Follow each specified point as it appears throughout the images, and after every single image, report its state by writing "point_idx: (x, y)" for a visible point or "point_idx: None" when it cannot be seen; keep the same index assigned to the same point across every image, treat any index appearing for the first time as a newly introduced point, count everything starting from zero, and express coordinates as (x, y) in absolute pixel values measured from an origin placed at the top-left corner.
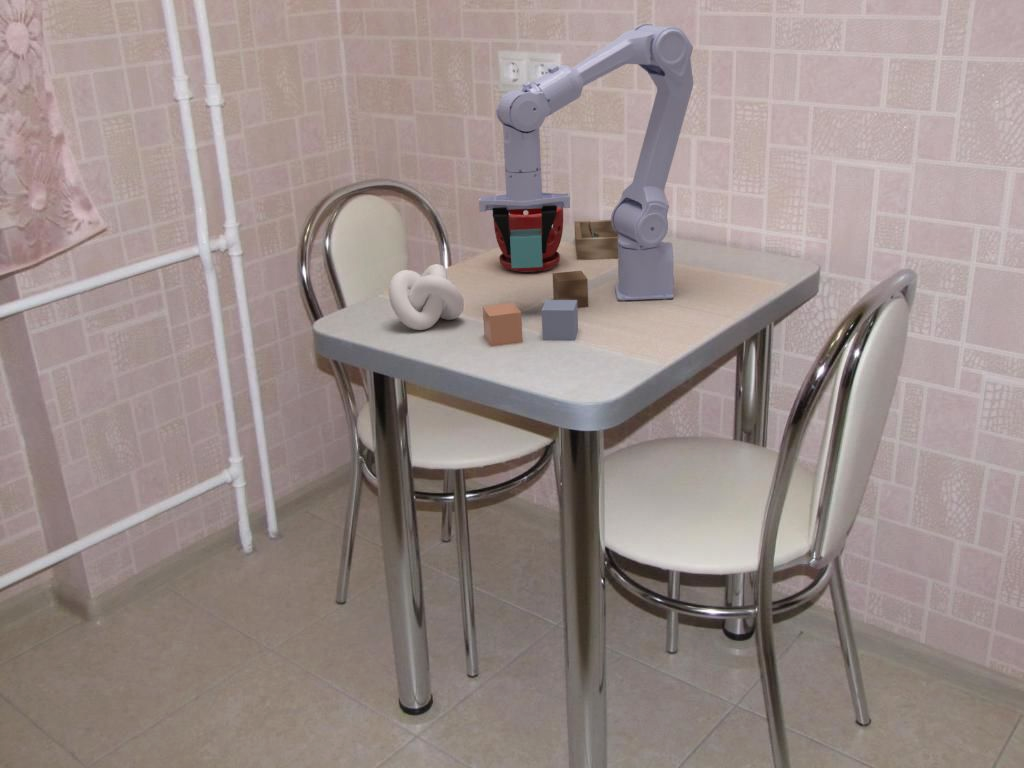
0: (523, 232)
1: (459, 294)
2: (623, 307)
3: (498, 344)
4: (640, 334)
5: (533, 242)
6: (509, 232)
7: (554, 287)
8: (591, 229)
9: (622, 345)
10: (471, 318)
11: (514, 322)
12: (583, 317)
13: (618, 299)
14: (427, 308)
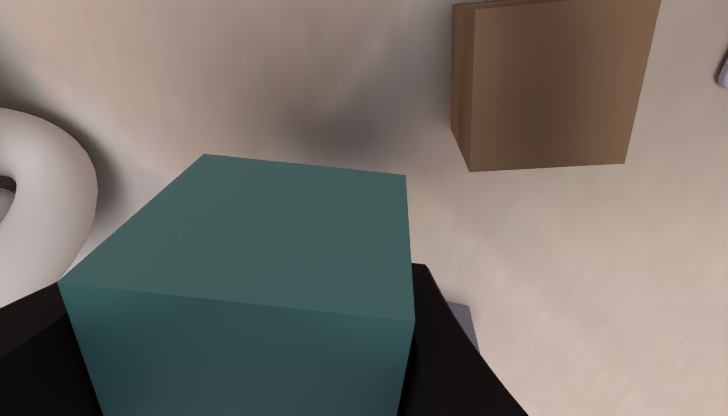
0: (218, 391)
1: (50, 282)
2: (692, 156)
3: None
4: (617, 366)
5: None
6: (73, 366)
7: (462, 53)
8: None
9: (543, 409)
10: (140, 153)
11: None
12: (513, 222)
13: (720, 84)
14: None
